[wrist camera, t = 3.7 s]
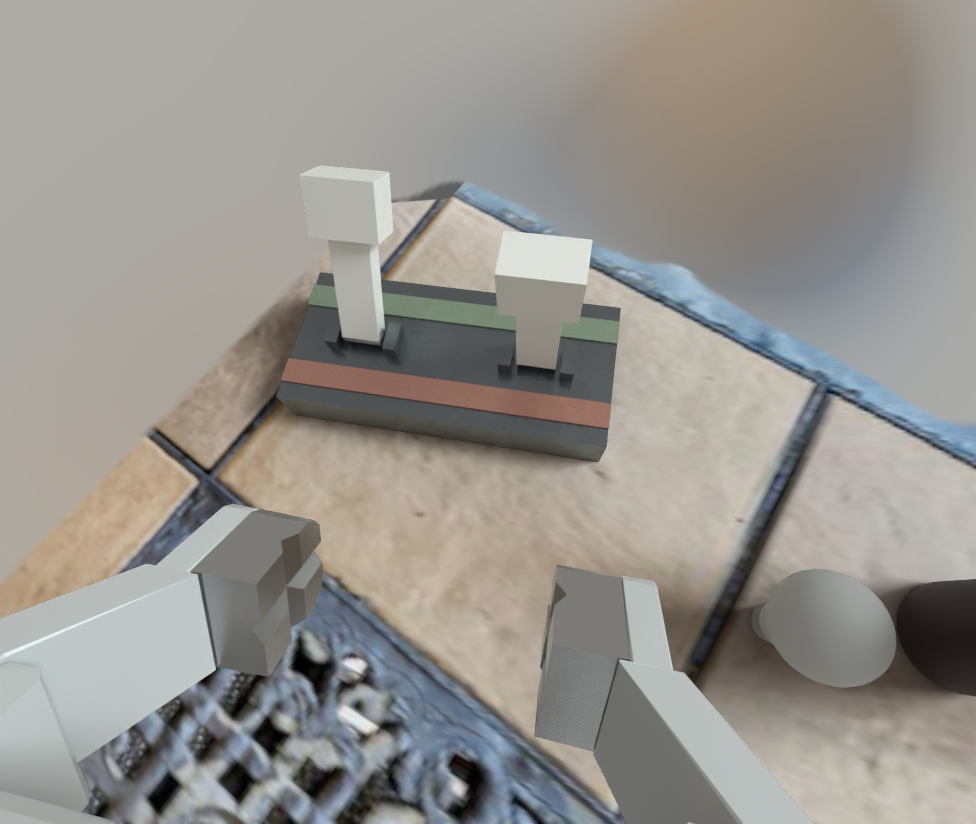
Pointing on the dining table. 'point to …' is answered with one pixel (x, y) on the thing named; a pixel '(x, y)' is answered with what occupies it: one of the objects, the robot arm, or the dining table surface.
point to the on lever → (352, 241)
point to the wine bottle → (942, 632)
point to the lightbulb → (828, 628)
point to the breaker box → (455, 372)
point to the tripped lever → (541, 290)
